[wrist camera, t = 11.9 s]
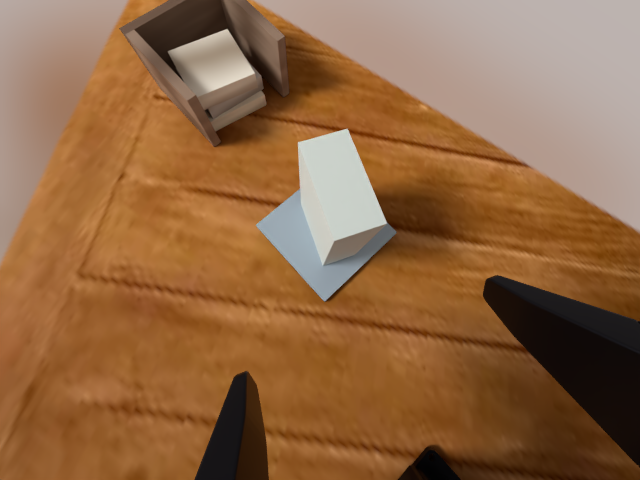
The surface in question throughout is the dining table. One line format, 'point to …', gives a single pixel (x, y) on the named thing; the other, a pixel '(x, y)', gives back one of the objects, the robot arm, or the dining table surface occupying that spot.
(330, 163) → the pale grey rectangular block
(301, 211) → the mat
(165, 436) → the dining table surface
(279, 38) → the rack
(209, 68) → the offcut stack
